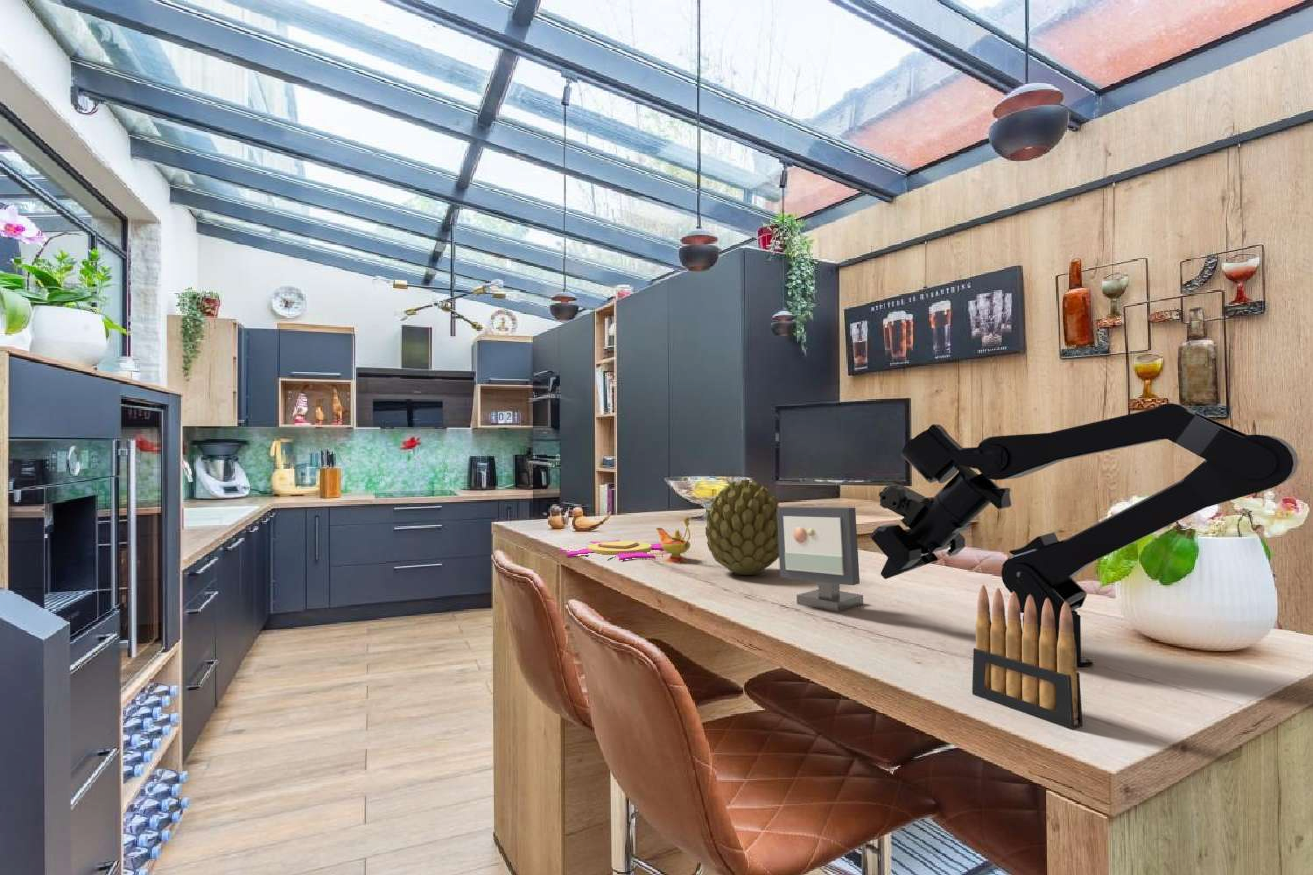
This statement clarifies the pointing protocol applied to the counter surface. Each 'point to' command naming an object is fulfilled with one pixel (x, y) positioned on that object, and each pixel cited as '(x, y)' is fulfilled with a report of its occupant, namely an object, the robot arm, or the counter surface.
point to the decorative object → (743, 528)
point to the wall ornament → (620, 549)
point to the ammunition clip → (1027, 660)
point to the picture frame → (818, 544)
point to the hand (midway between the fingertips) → (883, 576)
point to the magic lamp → (674, 543)
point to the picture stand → (830, 598)
